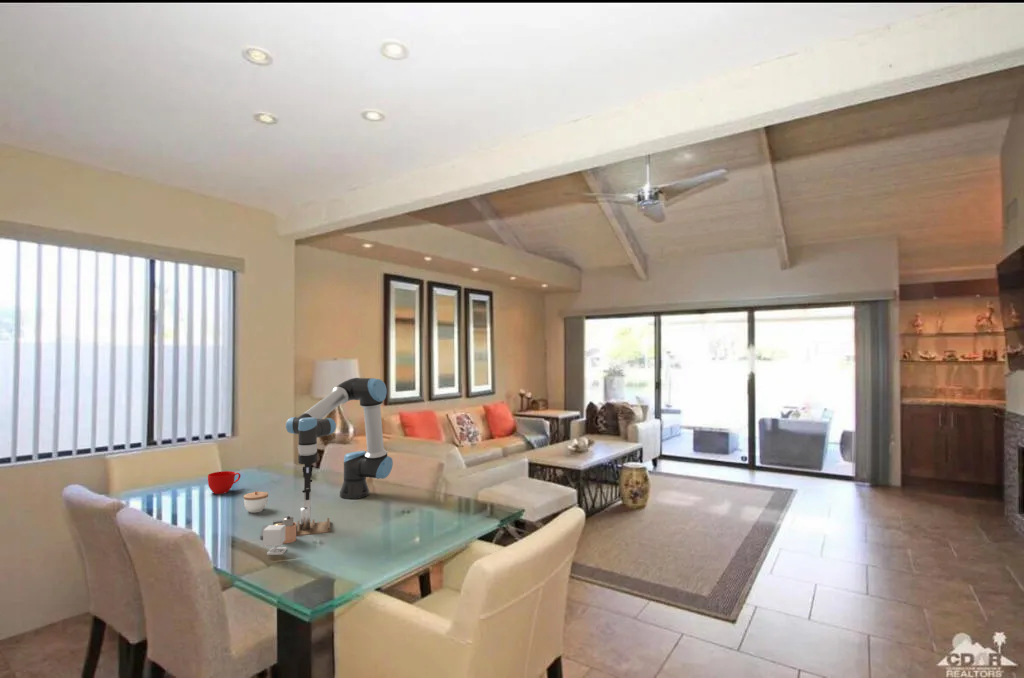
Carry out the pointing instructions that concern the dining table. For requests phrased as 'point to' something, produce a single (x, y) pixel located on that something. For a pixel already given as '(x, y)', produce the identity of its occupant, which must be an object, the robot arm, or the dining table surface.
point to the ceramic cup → (221, 481)
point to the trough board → (314, 528)
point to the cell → (305, 518)
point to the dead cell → (288, 521)
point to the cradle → (268, 525)
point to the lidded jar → (255, 501)
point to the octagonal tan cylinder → (290, 533)
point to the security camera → (274, 539)
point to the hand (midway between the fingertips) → (307, 502)
